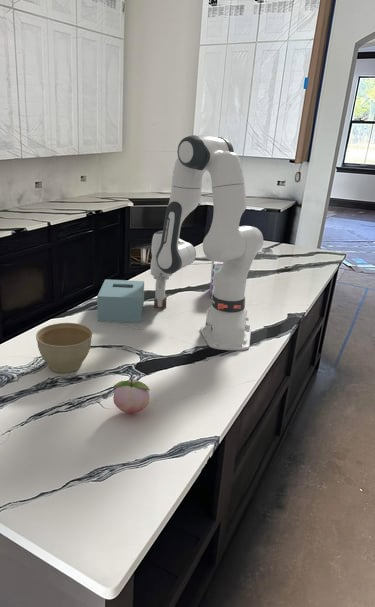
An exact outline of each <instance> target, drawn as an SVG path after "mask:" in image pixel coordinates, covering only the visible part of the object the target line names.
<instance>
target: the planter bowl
mask: <svg viewBox="0 0 375 607" xmlns="http://www.w3.org/2000/svg"><path fill="white" fill-rule="evenodd" d="M35 338H36V339H35V340H36V341H37V342H36V343H37V348H38V351H39V355H40V356H41V357H42V359H43V360H44V361H45V363H46V364H48V366H49V368H50V369H49V370H51V371H53V372H56V373H62V374H63V373H64V374H65V373H66V374H67V373H72V372H75V371H77V370H79V369H81V367H82V364H83V362H84V361H85V359H86V358H87V356H88V354H89V352H90V351H91V347H92V346H91V345H92V338H93V331H92V329H90V328H89V326H86V325H84V324H81V323H75V322H58V323H53V324H49V325H46V326H44V327H41V328H40V329H39V330H38V331H37V332H36V334H35Z"/></svg>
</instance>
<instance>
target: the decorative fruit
mask: <svg viewBox="0 0 375 607" xmlns="http://www.w3.org/2000/svg"><path fill="white" fill-rule="evenodd" d="M113 388H115V390H114V393H113V396H112V397H113V403H114V405H115V406H116V408H117V409H118V410H120V411H121V412H122V413H126V414H137V413H139V412H141V411H143V410H144V409H145V408H147V406H148V405H149V402H150V392H149V391H151V389H150V388H149V386H148V385H147V384H146V383H144V382H142V381H140V380H136V379H132V378H131V379H128V380H121V381H118V382H116V383H115V384H114V385H113Z"/></svg>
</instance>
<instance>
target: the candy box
mask: <svg viewBox="0 0 375 607" xmlns="http://www.w3.org/2000/svg"><path fill="white" fill-rule="evenodd" d="M222 264H223V262H215V261H211V269H210V270H211V272H210V283H209V284H210V287H209V293H210V299H211V300H212V295H213V294H214V284H215V275H216V273H217V271H218V270H219V269H220V268H221V266H222Z"/></svg>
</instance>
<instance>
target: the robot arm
mask: <svg viewBox="0 0 375 607" xmlns="http://www.w3.org/2000/svg"><path fill="white" fill-rule="evenodd" d="M234 150H235V149H234V146H233V144H232V143H231V142H230V141H229V140H228V139H227V138H224V137H221V136H220V137H219V136H218V137H217V136H212V135H209V134H208V135H206V134H204V135H202V134H201V135H195V134H194V135H193V134H192V135H189V136H186V137H184V138H182V139H181V140H180V141H179V143H178V146H177V157H176V160H175V162H174V165H173V166H174V167H173V171H172V177H171V186H170V187H171V188H170V196H169V201H168V204H167V207H166V210H165V216H164V220H163V228H162V230H159V231H156V232H154V234H153V235H152V239H151V251H150V252H151V261H150V275H151V276H153V279H154V280H156V281H155V290H154V291H155V294H154V296H155V299H157V302H158V305H157V306H158V307H162V300H164V298H165V297H166V295H165V294H166V284H167V280H169V279H170V277H172V276H173V274H175V273H177V271H180V270H181V269H183V268H185V267H187V266H190V265H192V264H193V263H194V262H195V261H196V258H197V251H196V248H195V246H194V245H193V244H192V243H190V242H189V241H185V240H183V239H181V238H180V236H181V235H180V233H181V228H182V224H183V222H184V221H185V219H186V218H187V217H188V216H189V215H190V213H192V212H193V211H194V210H195V209H196V208H197V207H198V206H199V203H200V201H201V194H202V188H203V187H202V184H203V175H204V173H205V172H208V173H209V175H210V179H211V190H212V191H211V192H212V202H213V214H212V215H213V216H212V220H211V224H210V225H211V226H210V228H209V231H208V232H207V234H206V235H205V237H204V238H203V241H202V251H203V254H204V256H205V258H207V259H208V260H209V261H211V262H212V261H215V262H223V264H222V266H221V268H220V269H219V270H218V271H217V273H216V275H215V284H214V294H213V295H212V299H211V306H210V307H208V308H207V309H206V316H205V317H206V318H205V324H204V325H203V326H201V327H200V329H199V330H200V333H201V335H202V336H203V338H204V340H205V341H206V343H207V344H208V346H209V348H211V349H215V350H223V351H245V350H249V349H250V346H251V345H250V343H251V335H252V334H251V333H252V331H251V330H252V329H251V324H249V323H247V322H249V318H250V317H248V310H246V308H245V306H246V297H245V292H246V285H247V279H248V275H249V272H250V268H251V266H252V264H253V262H254V260H255V257H256V256H257V254H258V253H259V251H261V249H262V247H263V246H264V236H263V233H262V231H261V230H260V229H259V228H257V227H255V226H251V225H241V226H240V222H241V218H242V216H243V213H244V212H245V211H246V209H247V197H246V196H247V194H246V184H245V177H244V176H245V174H244V171H243V167H242V163H241V158H240V156H239V155H238V154H237V153H235V152H234Z"/></svg>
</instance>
